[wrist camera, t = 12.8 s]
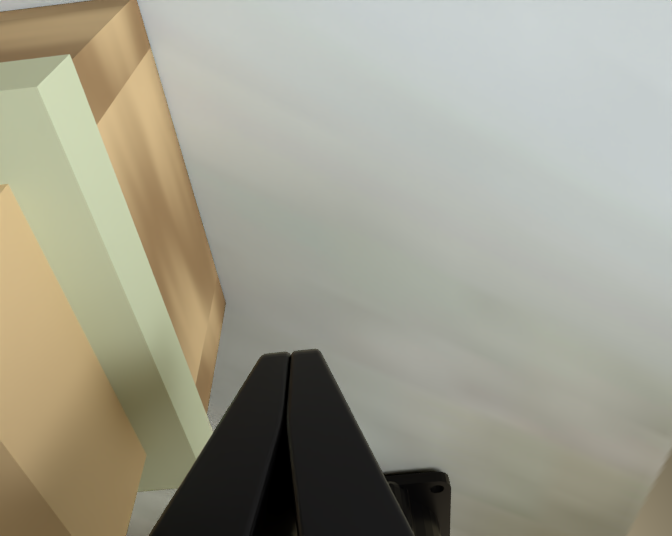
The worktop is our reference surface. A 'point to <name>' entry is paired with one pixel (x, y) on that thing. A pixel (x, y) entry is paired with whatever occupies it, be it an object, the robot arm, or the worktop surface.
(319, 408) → the robot arm
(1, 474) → the lid
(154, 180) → the wooden box tray
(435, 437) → the worktop surface
